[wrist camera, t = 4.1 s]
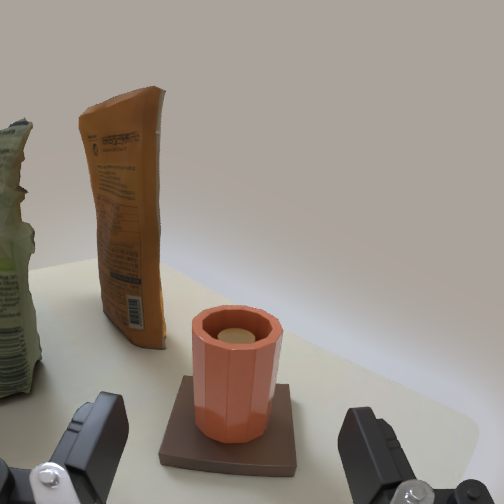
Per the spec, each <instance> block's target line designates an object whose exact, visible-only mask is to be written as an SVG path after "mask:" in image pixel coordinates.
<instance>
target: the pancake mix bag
mask: <svg viewBox="0 0 504 504" xmlns="http://www.w3.org/2000/svg"><path fill="white" fill-rule="evenodd" d="M165 92H166V91H165V90H163V89H160V88H158V87H156V86H150V87H146V88H141V89H138V90H134V91H131V92H128V93H124V94H121V95H118V96H115V97H113V98H110V99H109V100H107V101H104V102H103V103H100V104H96V105H94V106H91V107H89V108H87V109H86V110H85V111H84V112H83V114H81V115H80V117H79V131H80V134H81V137H82V141H83V144H84V148H85V153H86V157H87V163H88V169H89V174H90V182H91V188H92V192H93V196H94V202H95V208H96V216H97V249H98V250H97V251H98V268H99V279H100V285H101V298H102V303H103V311H104V313H105V314H106V315H107V316H108V317H109V318H110V319H111V320H112V322H113V323H114V324H115V325H116V326H117V327H118V328H119V329H120V330H121V331H122V332H123V333H124V334H125V335H126V337H127V338H128V339H129V340H130V341H131V342H132V343H133V344H134V345H137V346H140V347H145V348H155V349H161V348H166V345H165V340H164V338H165V337H166V324H165V319H164V310H163V297H162V288H161V279H160V269H159V263H160V234H161V226H160V209H159V190H160V181H159V180H160V179H159V152H160V131H161V113H162V105H163V100H164V95H165Z"/></svg>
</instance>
